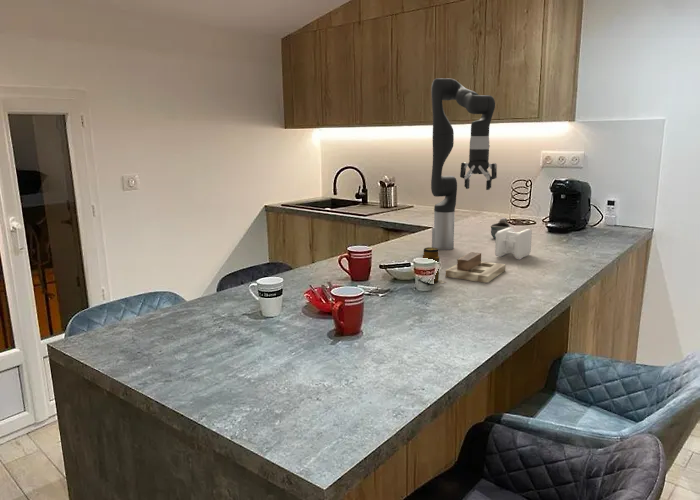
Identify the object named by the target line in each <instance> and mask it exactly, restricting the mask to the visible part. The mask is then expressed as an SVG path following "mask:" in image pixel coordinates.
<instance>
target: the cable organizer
mask: <svg viewBox="0 0 700 500" xmlns="http://www.w3.org/2000/svg"><path fill="white" fill-rule="evenodd" d="M532 235H533V230H532V228H531V229H530V228H526V229H523V230H522V231H518V232H516V231H515V229H514V227H510V228H509V227H508V228H505V229H503V230H500V231H498V232H497V233H496V234H495V237H496V239H495V241H494V242H495V245H494V248H495V249H494V254H495V256H496V257H498V258H501V257H503V256H505V255H506V256H507V255H508V254H512V256H514V258H515V259H517V260H519V261H520V260H522V259H523V258H524V257H525V258H526V257H528V256H529V255H530V254H531V251H532V237H533V236H532Z"/></svg>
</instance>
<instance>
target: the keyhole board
mask: <svg viewBox="0 0 700 500" xmlns="http://www.w3.org/2000/svg"><path fill="white" fill-rule="evenodd" d="M506 265H507V264H505V263H497V262H496V263H495V262H489V261H484V260H481V263H480V264H479V265H477V266H475V267H474V268H472V269H470V270H468V271H463V270H457V264H454V265H453V266H451V267H449V268H447V269H445V278H451V279H458V280H465V281H471V282H479V283H484V284H488V283H490V282H491V281H493V280H494V279H495V278H497V277H498V276H500V275H501V274H502V273H504V272H506V267H507V266H506Z"/></svg>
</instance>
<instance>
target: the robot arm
mask: <svg viewBox="0 0 700 500" xmlns="http://www.w3.org/2000/svg"><path fill="white" fill-rule="evenodd" d="M430 94H431V105H432V106H431V107H432V108H431V109H432V166H431V167H432V170H431V179H430V181H431V184H430V189H431V194H432V195H433V196H434V198H435V197H437V198H438V197H444V199H443V200H442V201H439V202H438V203H436V204H435V205H434V207H433V208H434V209H433V211H434V212H433V213H434V214H433V227H432V228H431V247H433V248H437V249H438V251H439V250H440V251H444V250H445V251H447V250H449V251H450V250H453V249H454V246H455V245H454V244H455V243H454V242H455V219H456V218H455V212H456V206H457V205H456V204H457V193H458V180H457V178H456V177H455V176H454V175H442V174H443V167H444V164H445V162H446V160H447V159H448V157H449V155H450V153H451V152H452V150H453V147H454V142H455V141H454V129H453V126H452V124H451V122H450V121H449V119H448V117H447V115H446V113H445V111H444V106H443V101H456V103H457V104H458V105H459V106H460V107H463V108H464V109H465V110H466V111H467V112H468V113H470V114H472V115H481V117H480V119H477V120H473V121H472V122H471V124H470V139H469V151H468V153H469V155H468V157H469V158H468V162H461V164H460V174H459V176H460V178H461V179H464V188H465V189H466V190H468V189H470V181H471V180H470V178H471V177H472V176H473V175H483V176H484V177H485V178H486V180H485V181H486V183H485V186H486V187H485V190H486V191H489V190H490V189H492V180H495V179H497V178H498V177H497V176H498V175H497V171H498V170H497V169H498V168H497V167H498V164H497V163H495V162H494V163H490V162H489V157H490V147H491V146H490V126H491V122H492V118H493V114H494V111H495V109H496V101H495V98H494V97H493V96H492V95H483V94H482V95H481V94H480V95H479V94H478V93H477V92H476V91H474V90H471V89H468V88H466V87H465V86H463V84H461V83H460V82H459V81H457V80H456V79H454V78H444V77H443V78H442V77H441V78H440V77H437V78H434V79H433V81H432V83H431V89H430ZM467 168H468V169H469V170H468V172H467V173H466V171H467ZM488 169H491V174H490V172H489V170H488Z"/></svg>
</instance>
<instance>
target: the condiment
mask: <svg viewBox="0 0 700 500" xmlns="http://www.w3.org/2000/svg"><path fill="white" fill-rule="evenodd" d="M422 258H428V259H433V260H435V261H437V262H439V263H440V256H439V249H437V248H433V247H432V246H431V247H430V246H428V247H424V248H423V254H422ZM439 271H440V268H439V269H438V271H437V273H436V275H435V279H434V285H441V284H446V283H447V281H444V280H442V279H439V277H440V272H439Z"/></svg>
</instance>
